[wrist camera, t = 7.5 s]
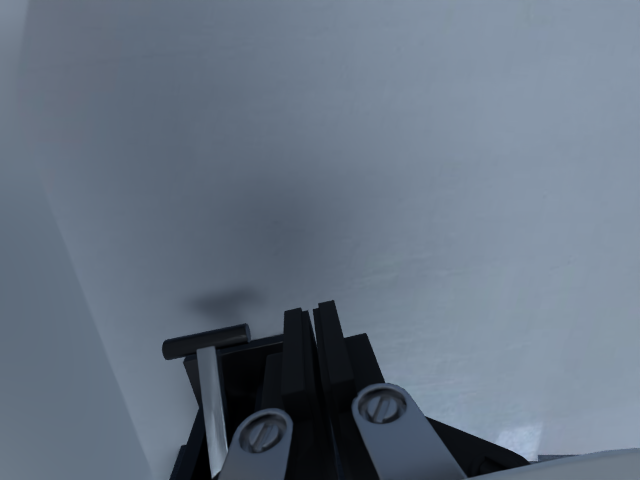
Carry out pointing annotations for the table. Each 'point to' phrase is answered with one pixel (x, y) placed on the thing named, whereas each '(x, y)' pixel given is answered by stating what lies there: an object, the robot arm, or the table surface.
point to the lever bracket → (241, 393)
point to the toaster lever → (211, 382)
